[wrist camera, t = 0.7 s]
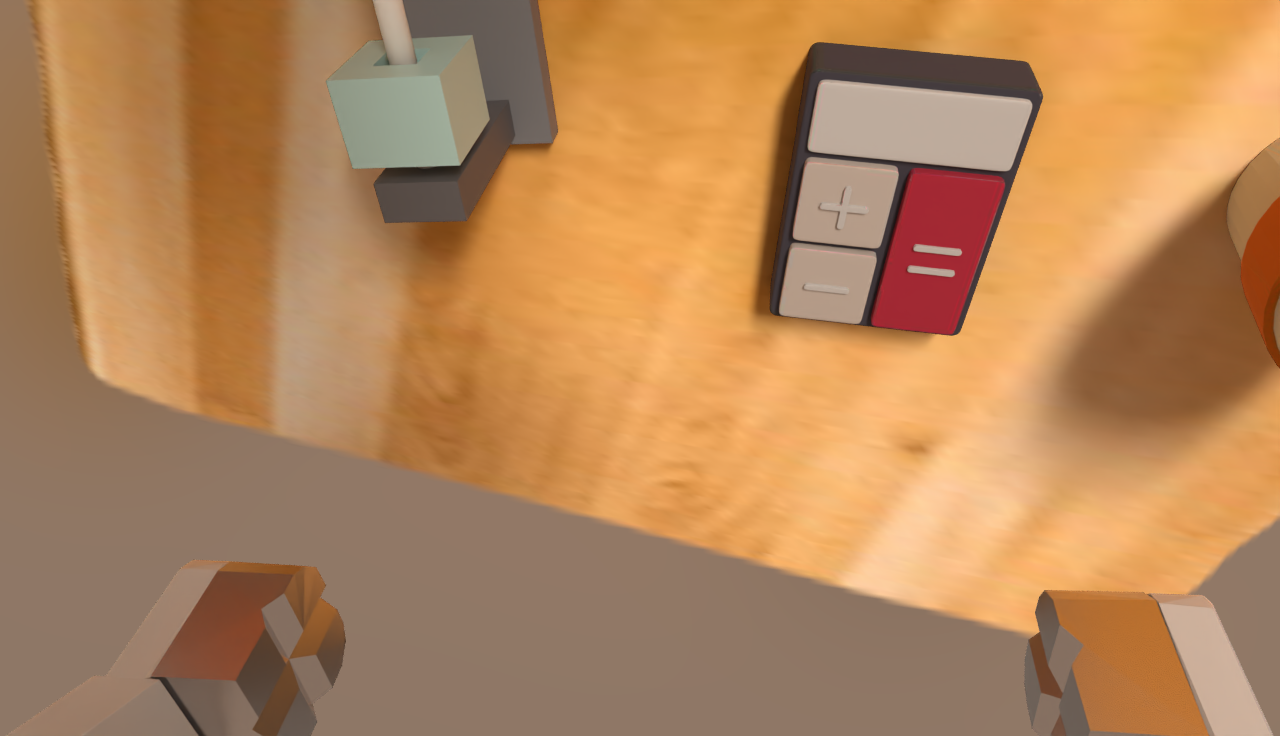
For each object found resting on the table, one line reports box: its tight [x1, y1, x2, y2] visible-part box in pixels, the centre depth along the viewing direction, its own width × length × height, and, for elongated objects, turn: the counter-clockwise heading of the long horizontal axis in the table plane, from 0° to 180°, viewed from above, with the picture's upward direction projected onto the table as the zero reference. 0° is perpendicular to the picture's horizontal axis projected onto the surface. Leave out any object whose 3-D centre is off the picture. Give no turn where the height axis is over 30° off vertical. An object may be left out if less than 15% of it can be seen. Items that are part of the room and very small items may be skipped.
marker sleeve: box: [326, 35, 490, 169], centre depth 41 cm, size 4×5×5 cm
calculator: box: [770, 42, 1043, 336], centre depth 49 cm, size 11×4×15 cm
